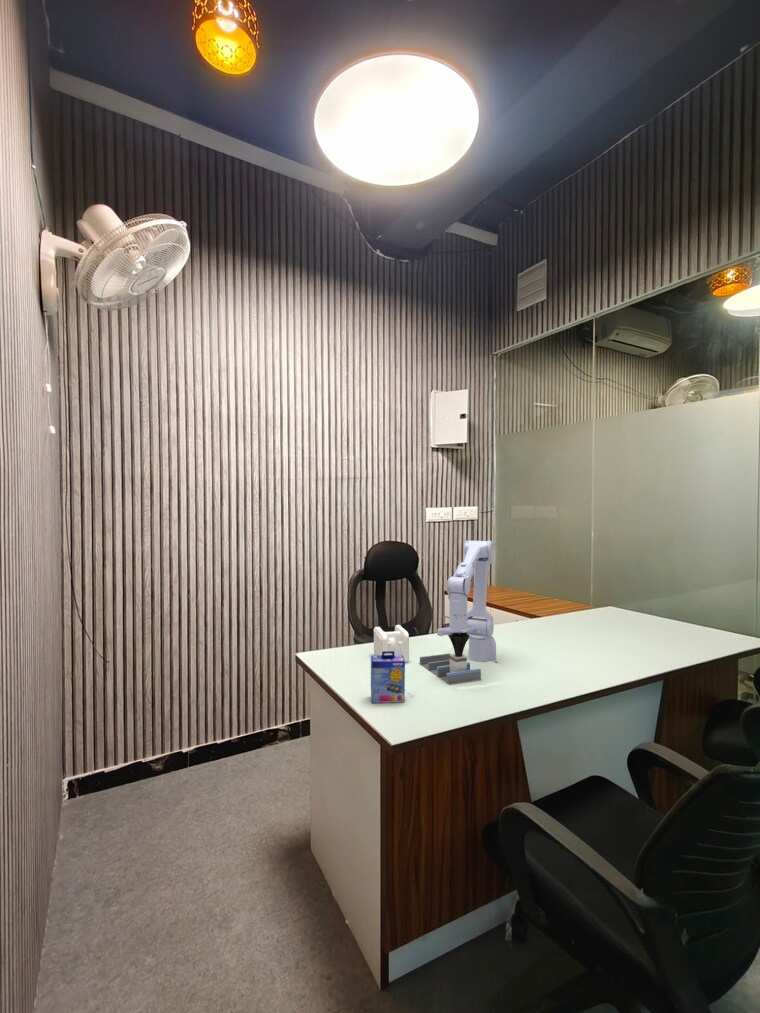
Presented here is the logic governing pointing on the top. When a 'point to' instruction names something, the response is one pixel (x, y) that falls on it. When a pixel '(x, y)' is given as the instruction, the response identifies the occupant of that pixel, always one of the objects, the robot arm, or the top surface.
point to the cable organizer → (392, 642)
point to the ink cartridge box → (387, 678)
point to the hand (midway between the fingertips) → (458, 656)
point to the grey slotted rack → (442, 670)
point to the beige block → (457, 663)
